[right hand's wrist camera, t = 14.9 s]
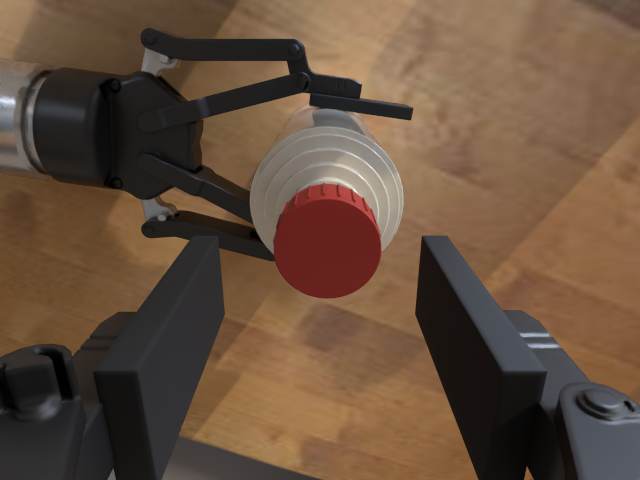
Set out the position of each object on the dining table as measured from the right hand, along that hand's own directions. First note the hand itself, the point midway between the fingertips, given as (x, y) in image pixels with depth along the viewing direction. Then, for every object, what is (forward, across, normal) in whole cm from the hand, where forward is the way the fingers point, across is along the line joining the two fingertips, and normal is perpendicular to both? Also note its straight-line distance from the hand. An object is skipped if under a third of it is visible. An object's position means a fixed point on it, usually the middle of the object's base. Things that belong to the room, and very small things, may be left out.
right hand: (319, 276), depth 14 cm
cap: (+3, 0, 0) cm, 3 cm away
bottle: (+24, 0, 0) cm, 24 cm away
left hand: (+18, -5, +1) cm, 19 cm away
